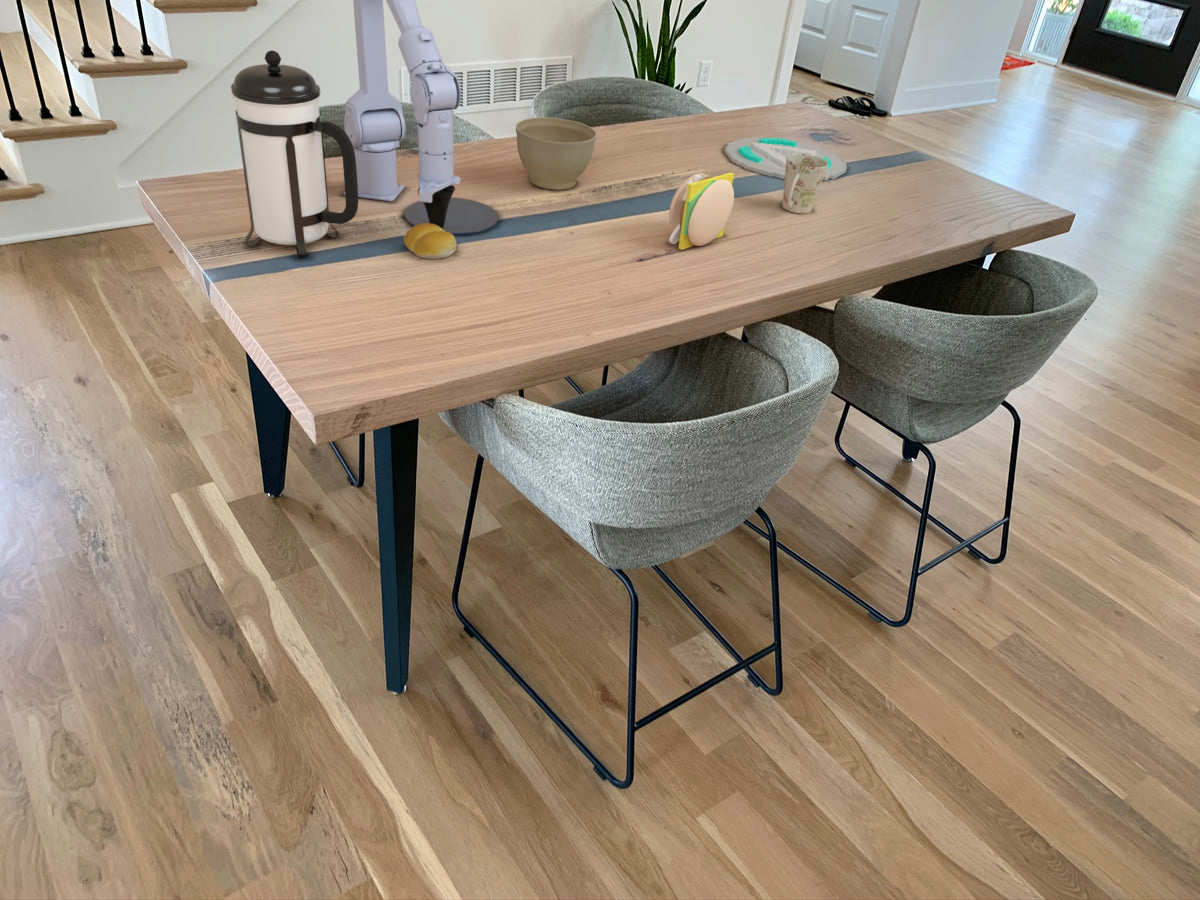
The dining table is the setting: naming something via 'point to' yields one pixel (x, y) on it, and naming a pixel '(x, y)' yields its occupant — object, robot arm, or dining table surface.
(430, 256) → the bread roll
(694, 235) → the hamburger
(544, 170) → the planter bowl
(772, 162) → the grey flat disc
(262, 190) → the coffee press
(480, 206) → the plate
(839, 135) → the dining table surface
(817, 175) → the mug
